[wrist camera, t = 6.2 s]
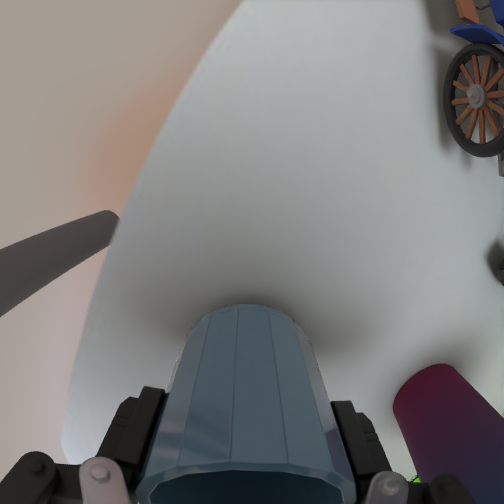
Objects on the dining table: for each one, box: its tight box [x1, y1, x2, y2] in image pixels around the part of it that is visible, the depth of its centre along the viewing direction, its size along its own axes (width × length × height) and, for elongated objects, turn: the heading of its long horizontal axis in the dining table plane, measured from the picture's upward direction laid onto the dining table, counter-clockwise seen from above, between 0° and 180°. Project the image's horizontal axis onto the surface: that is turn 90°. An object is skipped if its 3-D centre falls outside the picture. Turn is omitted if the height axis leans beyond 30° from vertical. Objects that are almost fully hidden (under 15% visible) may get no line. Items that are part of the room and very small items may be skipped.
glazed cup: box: [135, 304, 357, 504], centre depth 10 cm, size 6×6×8 cm
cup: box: [393, 364, 504, 504], centre depth 9 cm, size 7×7×15 cm
